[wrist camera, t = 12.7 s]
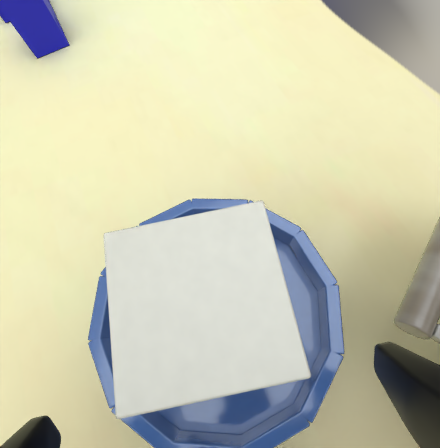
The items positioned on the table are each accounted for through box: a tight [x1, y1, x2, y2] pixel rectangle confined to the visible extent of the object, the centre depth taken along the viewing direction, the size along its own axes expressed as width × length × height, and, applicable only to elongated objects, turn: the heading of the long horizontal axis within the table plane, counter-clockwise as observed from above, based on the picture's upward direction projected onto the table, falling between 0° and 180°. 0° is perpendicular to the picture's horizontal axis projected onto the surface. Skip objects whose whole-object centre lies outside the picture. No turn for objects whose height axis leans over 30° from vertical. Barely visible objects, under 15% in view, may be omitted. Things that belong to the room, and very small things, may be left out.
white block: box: [104, 201, 311, 419], centre depth 12 cm, size 5×5×7 cm
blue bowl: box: [88, 199, 344, 448], centre depth 16 cm, size 11×11×5 cm
